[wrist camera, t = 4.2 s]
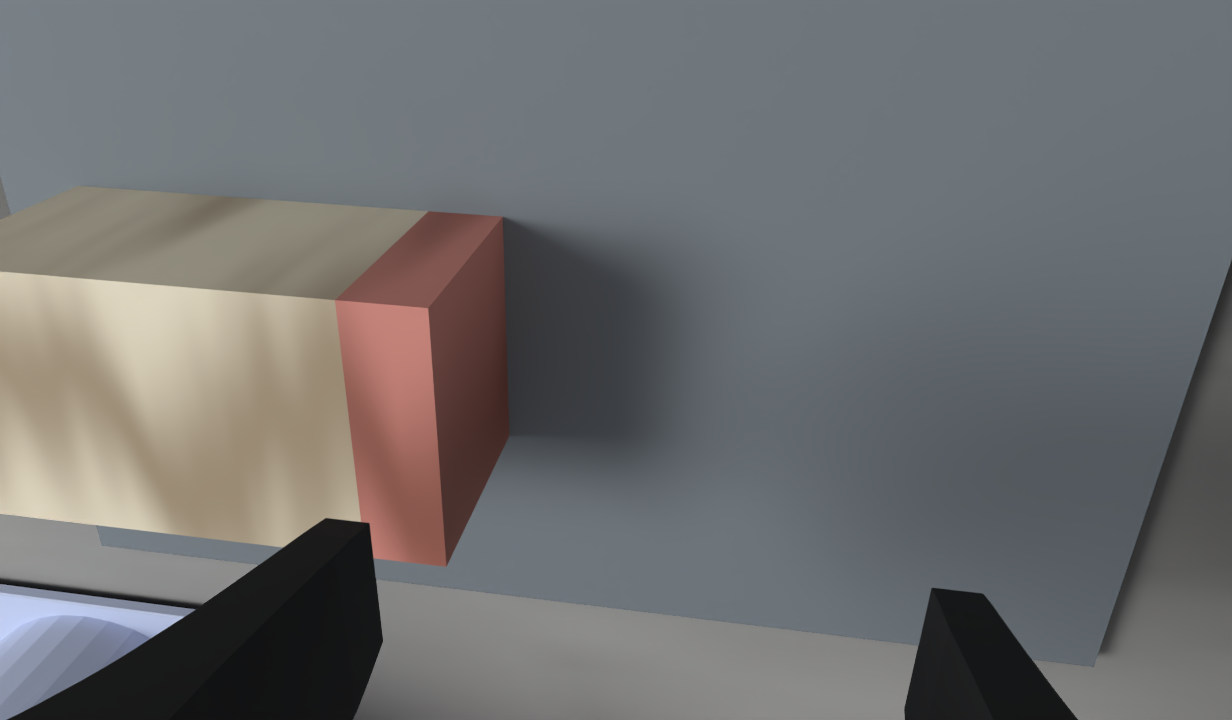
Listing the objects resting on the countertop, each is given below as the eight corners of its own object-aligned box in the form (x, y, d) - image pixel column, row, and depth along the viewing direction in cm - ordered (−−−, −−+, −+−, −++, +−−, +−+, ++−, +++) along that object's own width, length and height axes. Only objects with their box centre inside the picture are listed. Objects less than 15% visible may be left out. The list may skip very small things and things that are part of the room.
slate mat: (1087, 650, 22) (1093, 667, 21) (113, 533, 25) (101, 545, 24) (1350, -143, 14) (1368, -145, 14) (-75, -176, 17) (-97, -178, 17)
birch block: (446, 566, 17) (-16, 511, 18) (509, 435, 21) (128, 397, 22) (428, 307, 15) (-100, 262, 16) (502, 216, 19) (78, 185, 20)
